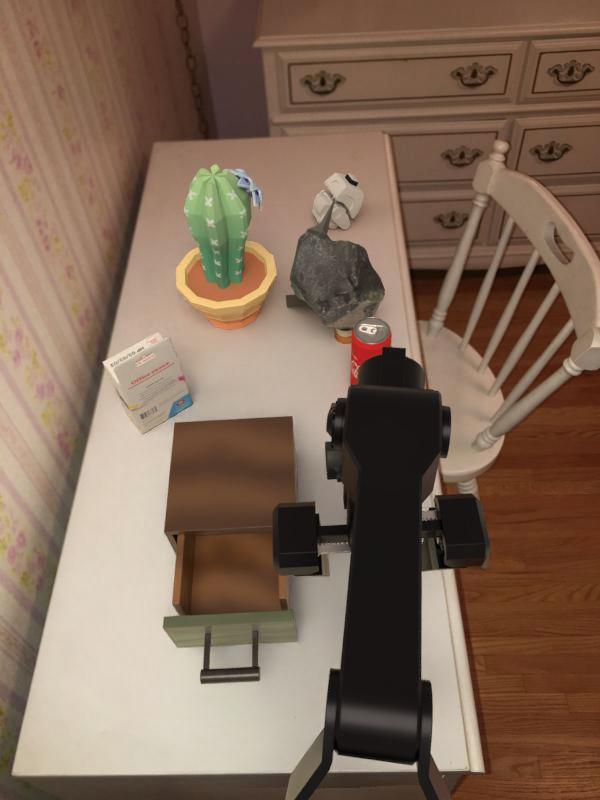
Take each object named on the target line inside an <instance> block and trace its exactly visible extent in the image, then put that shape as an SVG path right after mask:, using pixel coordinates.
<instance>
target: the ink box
mask: <svg viewBox="0 0 600 800" xmlns="http://www.w3.org/2000/svg"><path fill="white" fill-rule="evenodd" d="M102 364H103V367H104V369H105V371H106V373H107V375H108V377H109V380H110V381H111V384H112V386H113V388H114V390H115V392H116V394H117V396H118V398H119V401H120V403H121V405H122V407H123V409H124V411H125V414H126V415H127V416H128V418H129V419H130V421H131V422H132V423H133V424H134V426H135V427H136V428H137V430H138V431H139V433H140V434H145V433H147V432H148V431H150V430H152V429H154V428H155V427H158V426H159V425H161V424H162V423H163V422H165V421H167V420H169V419H170V418H172V417H174V416H175V415H177V414H179V413H180V412H183V411H184V410H186V409H188V408H189V407H191V406H192V405H193V400H192V397H191V394H190V391H189V387H188V385H187V381H186V378H185V375H184V372H183V369H182V366H181V365H182V364H181V363H180V360H179V355H178V353H177V352H176V350H175V347H174V344H173V341H172V338H171V337H170V336H166V337H165V338H164V337H163V336H162V334H161V333H159V331H156V332H155V333H153V334H151V335H150V336H147V337H145V338H143V339H142V340H141V341H138V342H136V343H135V344H133V345H131V346H129V347H127V348H126V349H124V350H122V351H120V352H118V353H116V354H114V355H112V356H111V357H109V358H107V359H105V360H102Z"/></svg>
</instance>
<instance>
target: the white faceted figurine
mask: <svg viewBox="0 0 600 800" xmlns="http://www.w3.org/2000/svg"><path fill="white" fill-rule="evenodd" d="M359 183H360V181H359V180H358V178H357V177H356V176H355V175H353V174H352V173H349V172H348V173H346V175H345V174H343V173H341V172H334V173H333V174H332V175H330V176H329V177H328V178H327V179H325V181H324V182H323V185H324V186H325V188H327V189H328V190H326V189H322V190H321V191H319V192H318V193H316V196H315V197H314V199H313V203H312V206H313V207H312V210H311V213H312V215H313V216H314V217H315V219H316V221H317V225H318V224H319V223H320V222H321V221H322V220H323V218H324V216H325V215H326V213H327V211H328V209H329V208H330V206H331V204H332V203H333V201H334V199H335V202H334V206H333V211H332V215H331V219H330V224H329V228H328V229H330V230H335V229H337V228H340V229H342V230H347V229H349V228H350V227H351V220H354V219H355V218H356V217H357V215H358V213H360V210H361V207H362V205H363V202H364V199H365V193H364V192H363V190H362V188H360V187H359ZM335 197H336V198H335ZM347 213H348V214H347ZM350 219H351V220H350Z"/></svg>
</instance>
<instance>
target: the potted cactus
mask: <svg viewBox="0 0 600 800" xmlns="http://www.w3.org/2000/svg"><path fill="white" fill-rule="evenodd" d="M209 170H210V171H209ZM209 170H208V169H206V168H205V167H204V168H203V167H201V168H199V170H198V171H197V173H196V174H195V176H194V178H193V179H192V180H191V182H190V184H189V189H188V194H187V196H186V199H185V203H184V205H183V213H184V216H185V220H186V224H187V226H188V230H189V233H190V235H191V237H192V238H193V240H194V241H195V243H196V244H197V247H195V248H192V250H190V251H188V252H187V253H186V255H185V256H184V257H183V259H182V260H181V261H180V263H179V264H178V266H177V267H176V268H175V281H176V282H175V283H176V289H177V291H178V292H179V293H180V295H181V296H182V297H183V298H184V299H185V301H187V302H188V303H189V305H191V306H192V308H194V309H196V310H198V311H199V312H200V313H201V314H202V315H203V316H204V317H205V318H206V319H207V321H209V322H210V323H211V325H213V326H214V327H215V328H220V329H224V330H227V331H228V330H237V329H242V328H245V327H246V326H248V325H250V324H251V323H253V322H255V321H256V319H257V317H258V316H259V314H260V313H261V307H262V305H263V303H264V301H265V299H266V298H267V296H268V295H269V293H270V291H271V290H272V288H273V286H274V285H275V283H276V279H277V275H278V273H277V268H276V262H275V258H274V255H273V254H272V253H271V252H270V251H268V250H267V248H265V247H264V246H263V245H261V244H260V243H259V242H256V241H251V240H248V237H249V226H250V223H251V221H252V218H253V215H252V203H253V207H254V208H257V207H258V209H259V213H262V212H263V199H264V194H263V192H262V190H261V188H259V186H258V185H257V184H256V182H255V181H254V180H253V179H252V177H251V176H250V175H249V174H248V173H247V172H246V171H245V170H244V169H242V168H236V169H232V168H224V169H221V168H220V167H219V165H218V164H213V165H212V166H211V167H210V169H209Z"/></svg>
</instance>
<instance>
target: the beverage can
mask: <svg viewBox="0 0 600 800" xmlns="http://www.w3.org/2000/svg"><path fill="white" fill-rule="evenodd" d="M392 335H393V333H392V330H391V327H390V324H388V322H387V321H386V320H384V319H383V318H380V317H377V316H374V317H366V318H363V319H361V320H359V321H358V322H357V323H356V324H355V326H354V328H353V330H352V339H351V343H350V345H351V347H350V349H351V350H350V374H349V375H350V376H349V377H350V378H349V381H350V382H349V383H350V385H352V384H355V385H356V384H357V376H358V368H359V367H360V366H361V364H362V363H364V362H365V361H366V360H368V359H369V358H371V357H374V356H378V355H382V347H392V337H393V336H392Z"/></svg>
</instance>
